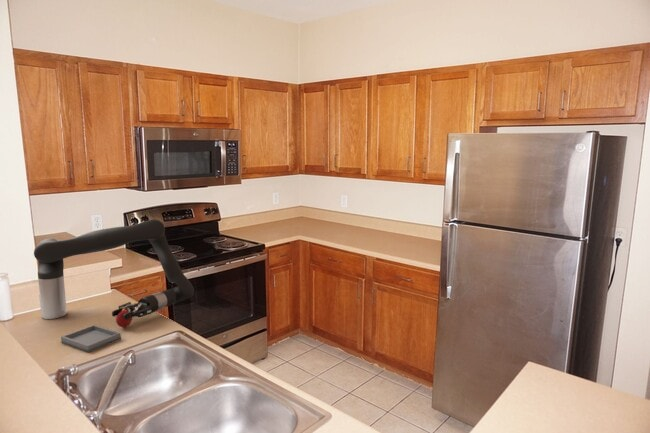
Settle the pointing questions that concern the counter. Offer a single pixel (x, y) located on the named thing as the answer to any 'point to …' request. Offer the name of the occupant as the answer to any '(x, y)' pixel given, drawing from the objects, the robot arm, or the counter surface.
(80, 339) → the tray
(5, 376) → the counter surface
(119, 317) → the onion
